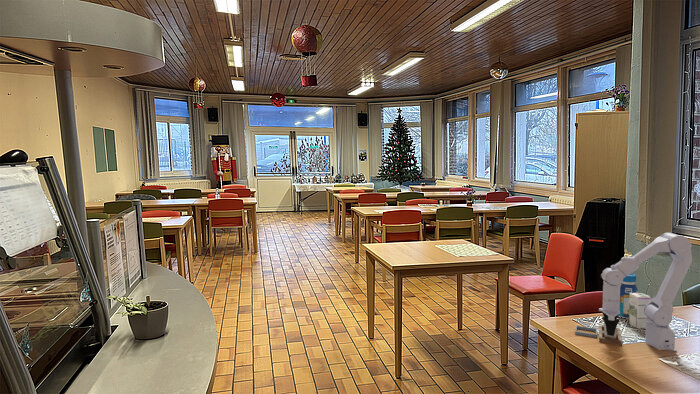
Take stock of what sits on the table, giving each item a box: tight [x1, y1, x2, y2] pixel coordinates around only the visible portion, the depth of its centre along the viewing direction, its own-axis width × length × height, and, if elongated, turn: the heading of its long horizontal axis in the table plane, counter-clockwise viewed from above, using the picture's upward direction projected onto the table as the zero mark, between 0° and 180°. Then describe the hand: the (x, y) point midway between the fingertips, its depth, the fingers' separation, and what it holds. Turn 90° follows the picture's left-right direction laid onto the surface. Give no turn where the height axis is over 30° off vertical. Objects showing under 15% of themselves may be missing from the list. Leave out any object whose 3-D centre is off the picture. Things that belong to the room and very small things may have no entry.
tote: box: [574, 325, 598, 339], centre depth 178 cm, size 8×8×2 cm
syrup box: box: [628, 292, 651, 329], centre depth 186 cm, size 6×6×14 cm
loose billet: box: [603, 325, 618, 340], centre depth 170 cm, size 4×4×6 cm
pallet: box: [598, 324, 623, 346], centre depth 174 cm, size 16×8×2 cm, turn 150°
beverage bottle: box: [619, 273, 639, 320], centre depth 199 cm, size 8×8×20 cm
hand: (610, 332), depth 170 cm, fingers open, 5 cm apart
